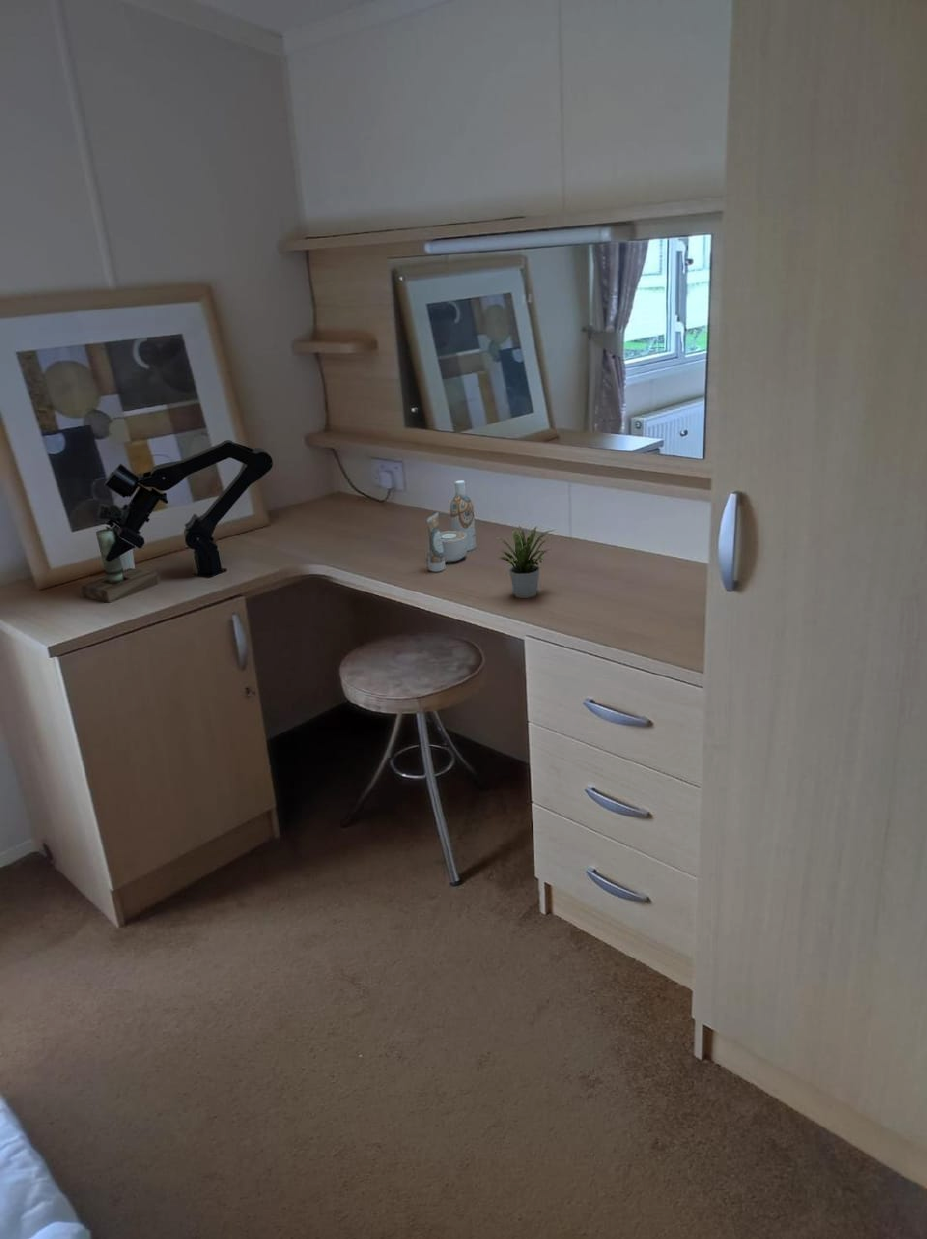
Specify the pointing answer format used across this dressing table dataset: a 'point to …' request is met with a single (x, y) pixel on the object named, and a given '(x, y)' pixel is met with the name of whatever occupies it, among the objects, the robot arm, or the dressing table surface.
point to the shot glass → (127, 560)
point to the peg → (105, 544)
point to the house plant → (524, 564)
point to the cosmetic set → (452, 532)
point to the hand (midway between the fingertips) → (105, 559)
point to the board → (120, 585)
